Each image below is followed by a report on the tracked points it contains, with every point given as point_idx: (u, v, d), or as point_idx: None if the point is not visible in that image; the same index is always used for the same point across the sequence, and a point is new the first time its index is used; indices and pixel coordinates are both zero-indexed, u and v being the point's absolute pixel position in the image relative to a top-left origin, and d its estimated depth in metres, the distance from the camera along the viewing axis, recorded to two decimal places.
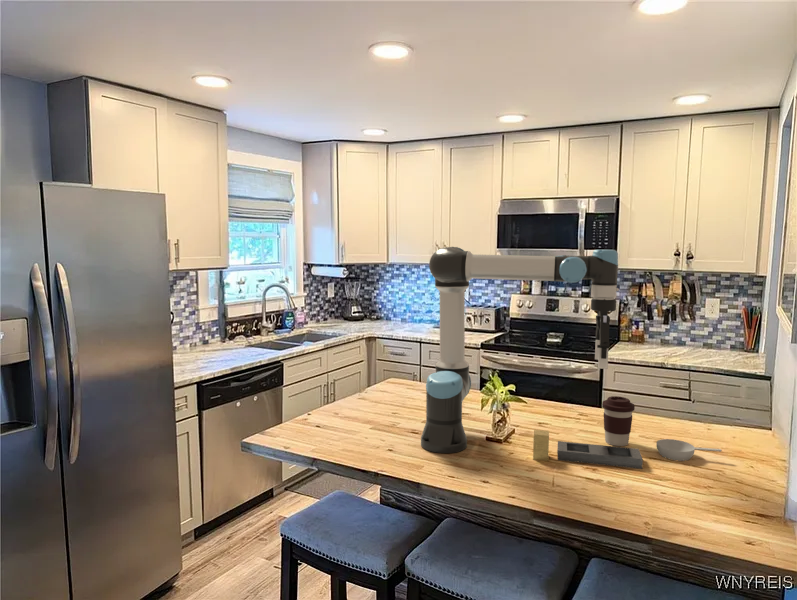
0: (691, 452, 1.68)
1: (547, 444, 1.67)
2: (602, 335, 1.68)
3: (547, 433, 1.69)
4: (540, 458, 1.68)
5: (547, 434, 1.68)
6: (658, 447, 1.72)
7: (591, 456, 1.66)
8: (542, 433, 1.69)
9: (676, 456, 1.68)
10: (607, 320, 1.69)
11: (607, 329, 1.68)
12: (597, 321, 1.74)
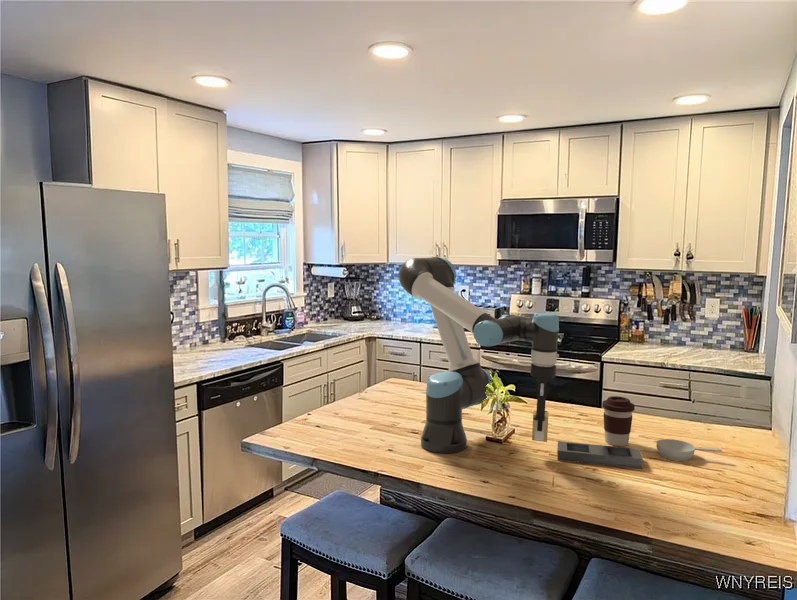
0: (691, 452, 1.68)
1: (546, 425, 1.67)
2: (538, 409, 1.64)
3: (546, 414, 1.69)
4: None
5: (546, 415, 1.68)
6: (658, 447, 1.72)
7: (591, 456, 1.66)
8: None
9: (676, 456, 1.68)
10: (544, 394, 1.62)
11: (543, 403, 1.63)
12: (536, 388, 1.67)
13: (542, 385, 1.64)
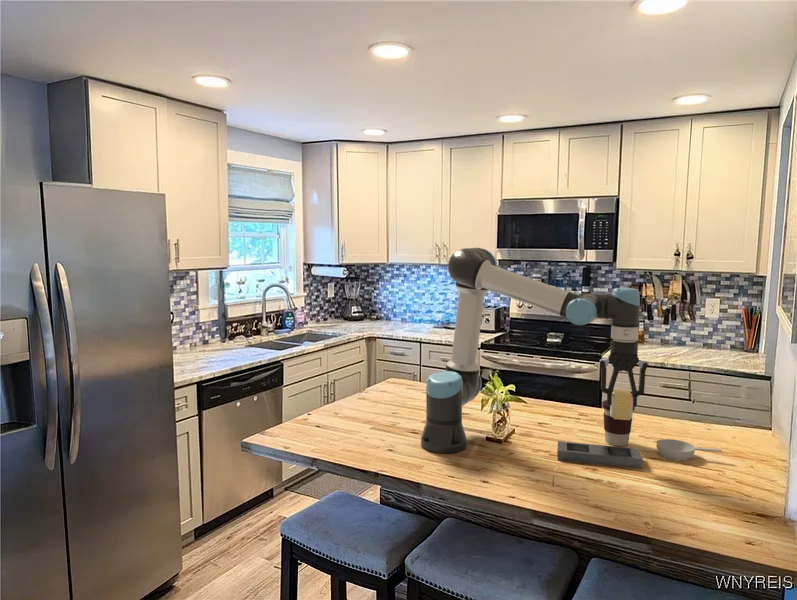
0: (691, 452, 1.68)
1: (614, 401, 1.64)
2: (601, 379, 1.67)
3: (621, 392, 1.64)
4: None
5: (618, 392, 1.64)
6: (658, 447, 1.72)
7: (591, 456, 1.66)
8: (621, 391, 1.65)
9: (676, 456, 1.68)
10: (601, 365, 1.66)
11: (601, 374, 1.66)
12: None
13: (608, 358, 1.65)
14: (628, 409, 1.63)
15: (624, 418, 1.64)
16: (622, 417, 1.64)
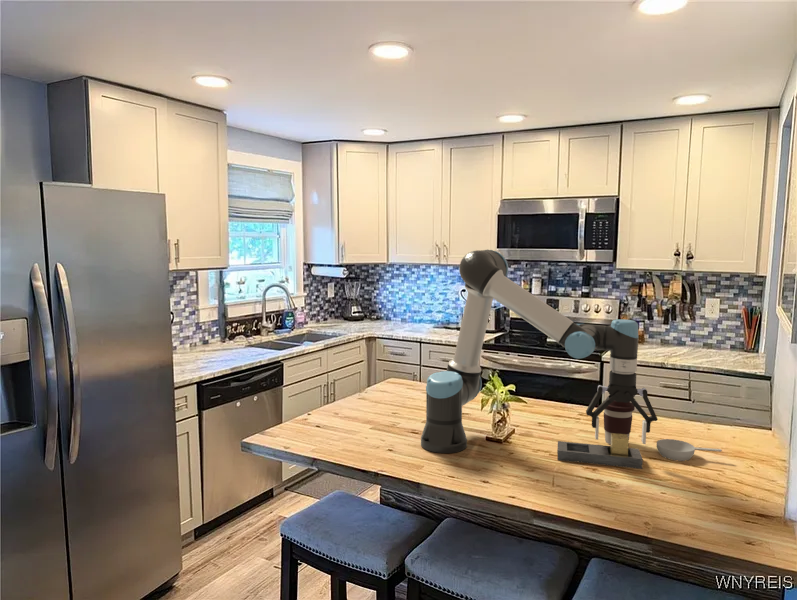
0: (691, 452, 1.68)
1: (611, 446, 1.66)
2: (590, 403, 1.69)
3: (619, 438, 1.65)
4: None
5: (616, 437, 1.65)
6: (658, 447, 1.72)
7: (591, 456, 1.66)
8: (618, 436, 1.66)
9: (676, 456, 1.68)
10: (597, 390, 1.67)
11: (594, 398, 1.67)
12: None
13: (608, 387, 1.66)
14: (625, 454, 1.65)
15: None
16: None
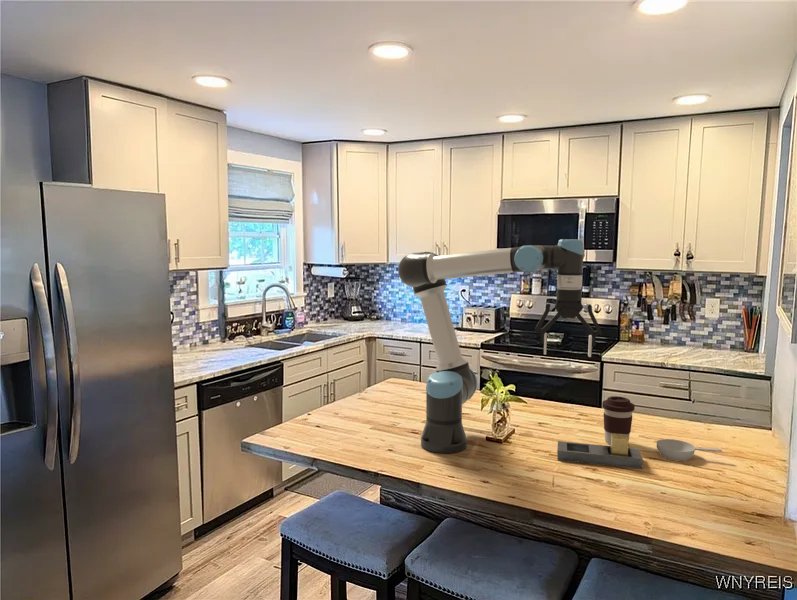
0: (691, 452, 1.68)
1: (611, 446, 1.66)
2: (539, 320, 1.77)
3: (619, 438, 1.65)
4: None
5: (616, 437, 1.65)
6: (658, 447, 1.72)
7: (591, 456, 1.66)
8: (618, 436, 1.66)
9: (676, 456, 1.67)
10: None
11: (542, 315, 1.75)
12: None
13: None
14: (625, 454, 1.65)
15: None
16: None
